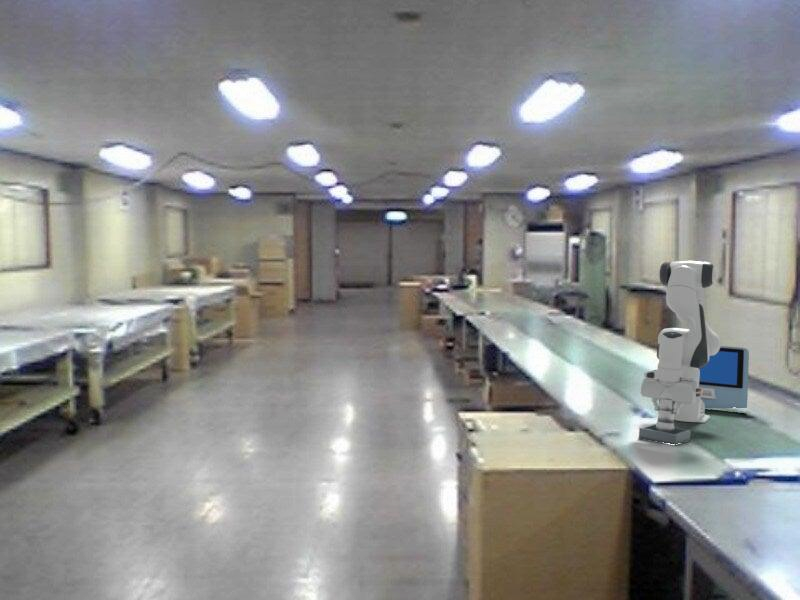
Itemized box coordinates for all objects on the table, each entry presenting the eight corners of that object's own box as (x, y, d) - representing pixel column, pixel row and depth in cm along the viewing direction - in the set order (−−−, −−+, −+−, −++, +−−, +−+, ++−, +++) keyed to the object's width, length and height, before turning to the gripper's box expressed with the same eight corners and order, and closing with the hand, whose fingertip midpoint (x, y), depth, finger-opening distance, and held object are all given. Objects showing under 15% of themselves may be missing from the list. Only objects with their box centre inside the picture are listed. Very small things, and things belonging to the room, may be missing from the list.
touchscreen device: (666, 406, 371) (671, 342, 371) (665, 401, 390) (669, 340, 389) (746, 415, 361) (752, 349, 361) (741, 409, 380) (746, 347, 379)
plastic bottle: (658, 431, 303) (663, 380, 302) (676, 435, 298) (680, 382, 297) (652, 434, 298) (656, 381, 297) (670, 437, 293) (674, 384, 292)
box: (654, 433, 308) (655, 423, 308) (689, 440, 299) (690, 430, 298) (638, 438, 297) (639, 428, 297) (675, 446, 288) (676, 435, 288)
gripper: (700, 378, 292) (697, 415, 293) (647, 371, 306) (644, 406, 306) (693, 380, 287) (690, 417, 288) (640, 372, 301) (637, 408, 302)
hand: (666, 412), depth 298 cm, fingers closed on plastic bottle, 6 cm apart
